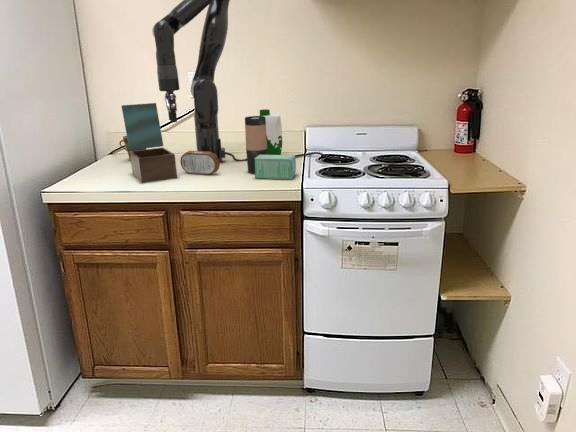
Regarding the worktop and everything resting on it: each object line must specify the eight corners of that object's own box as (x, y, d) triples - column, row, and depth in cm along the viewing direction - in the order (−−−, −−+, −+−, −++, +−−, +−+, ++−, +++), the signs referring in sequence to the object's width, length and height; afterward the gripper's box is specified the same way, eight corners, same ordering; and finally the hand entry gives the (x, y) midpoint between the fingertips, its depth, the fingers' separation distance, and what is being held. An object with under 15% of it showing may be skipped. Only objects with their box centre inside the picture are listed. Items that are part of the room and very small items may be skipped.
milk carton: (261, 156, 210) (259, 108, 204) (283, 156, 210) (281, 108, 204) (260, 161, 202) (257, 111, 196) (282, 160, 202) (280, 110, 195)
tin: (220, 174, 183) (219, 151, 180) (216, 176, 180) (215, 153, 177) (184, 172, 187) (182, 149, 185) (180, 173, 185) (178, 151, 182)
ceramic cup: (140, 156, 219) (137, 133, 216) (154, 158, 213) (152, 135, 210) (114, 161, 209) (111, 138, 206) (129, 164, 203) (126, 140, 200)
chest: (177, 178, 178) (174, 154, 176) (141, 183, 173) (138, 158, 170) (165, 170, 192) (163, 147, 189) (132, 174, 186) (129, 151, 183)
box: (292, 179, 171) (292, 158, 169) (254, 179, 174) (253, 158, 172) (296, 174, 178) (295, 154, 176) (259, 174, 181) (258, 154, 179)
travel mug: (271, 170, 186) (269, 116, 180) (262, 174, 180) (259, 119, 174) (253, 168, 190) (250, 115, 183) (243, 173, 183) (240, 118, 177)
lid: (156, 102, 187) (155, 103, 188) (121, 105, 182) (121, 105, 182) (163, 146, 188) (163, 146, 189) (129, 149, 183) (129, 150, 184)
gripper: (180, 77, 181) (185, 122, 186) (176, 77, 194) (180, 119, 199) (159, 78, 179) (164, 123, 184) (156, 78, 192) (161, 120, 197)
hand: (173, 121), depth 192 cm, fingers open, 8 cm apart
